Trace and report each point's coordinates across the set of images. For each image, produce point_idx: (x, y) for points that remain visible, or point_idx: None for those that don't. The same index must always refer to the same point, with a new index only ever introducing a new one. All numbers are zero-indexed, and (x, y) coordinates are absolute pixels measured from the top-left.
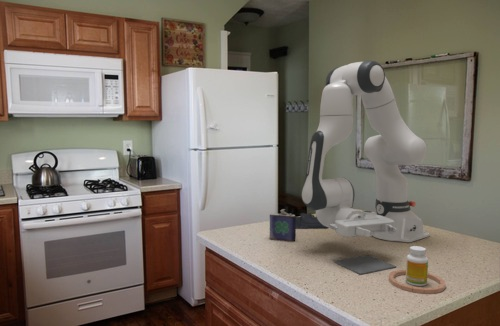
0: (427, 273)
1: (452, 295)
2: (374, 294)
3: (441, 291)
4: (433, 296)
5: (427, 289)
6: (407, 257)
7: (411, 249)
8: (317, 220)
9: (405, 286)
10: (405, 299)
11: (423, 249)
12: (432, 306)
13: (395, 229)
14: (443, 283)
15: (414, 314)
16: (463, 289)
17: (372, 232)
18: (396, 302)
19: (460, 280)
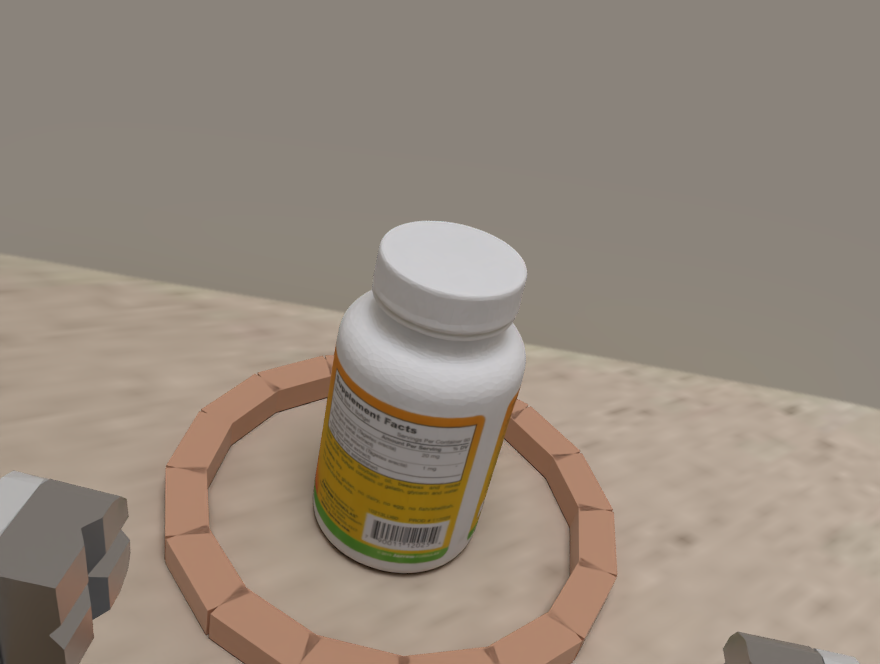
0: (192, 477)
1: None
2: (857, 607)
3: None
4: None
5: None
6: (509, 385)
7: (524, 286)
8: None
9: (600, 488)
10: (696, 462)
11: (445, 227)
12: (619, 364)
13: (57, 484)
14: (318, 365)
15: (771, 388)
16: (252, 320)
17: (741, 645)
18: (777, 477)
19: (86, 351)
